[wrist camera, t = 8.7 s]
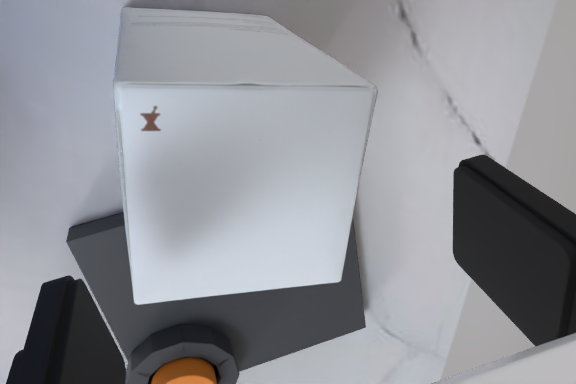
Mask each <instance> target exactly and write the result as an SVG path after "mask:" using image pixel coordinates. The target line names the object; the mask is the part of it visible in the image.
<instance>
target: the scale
mask: <svg viewBox="0 0 576 384" xmlns="http://www.w3.org/2000/svg"><path fill="white" fill-rule="evenodd" d="M67 244H68V246H69V248H70V250H71V251H72V253H73V255H74V257H75V259H76V261H77V263H78V265H79V267H80V269H81V271H82V273H83V275H84V277H85V279H86V281H87V283H88V285H89V287H90V288H91V290H92V292H93V294H94V296H95V298H96V300H97V302H98V304H99V306H100V308H101V310H102V312H103V314H104V316H105V318H106V320H107V322H108V324H109V325H110V327H111V329H112V331H113V333H114V335H115V337H116V339H117V341H118V343H119V345H120V347H121V349H122V351H123V353H124V355H125V357H126V359H127V361H128V362H129V363H128V366H127V370H126V380H125V384H151V383H152V379H153V376H154V375H155V373H156V372H157V370H158V369H159V368H160V367H162V366H163V365H164V364H166V363H168V362H170V361H173V360H176V359H179V358H182V357H197V358H201V359H203V360H206V361H207V362H209V363H210V364H211V365H212V367H213V369H214V371H215V376H216V381H217V384H236V382H237V379H238V377H239V371H242V370H245V369H248V368H251V367H253V366H256V365H259V364H262V363H265V362H268V361H271V360H274V359H276V358H279V357H282V356H285V355H288V354H291V353H294V352H296V351H299V350H302V349H305V348H308V347H311V346H314V345H317V344H319V343H322V342H325V341H328V340H331V339H334V338H337V337H339V336H342V335H345V334H348V333H351V332H354V331H357V330H360V329H362V328H365V327H366V325H365V316H364V308H363V299H362V291H361V282H360V274H359V265H358V257H357V248H356V240H355V231H354V223H353V216H352V222H351V227H350V233H349V239H348V244H347V250H346V256H345V261H344V267H343V272H342V278H341V281H340V282H336V283H326V284H317V285H308V286H298V287H289V288H280V289H271V290H262V291H253V292H244V293H235V294H226V295H217V296H208V297H199V298H191V299H183V300H173V301H165V302H158V303H149V304H140V305H137V304H135V303H134V297H133V288H132V279H131V270H130V262H129V254H128V246H127V238H126V230H125V220H124V213H120V214H117V215H113V216H110V217H106V218H103V219H99V220H96V221H92V222H89V223H85V224H82V225H78V226H75V227H71V228H69V232H68V237H67Z"/></svg>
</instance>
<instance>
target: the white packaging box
mask: <svg viewBox="0 0 576 384" xmlns="http://www.w3.org/2000/svg"><path fill="white" fill-rule="evenodd" d="M113 87H114V102H115V116H116V131H117V146H118V158H119V170H120V182H121V191H122V201H123V211H124V220H125V230H126V238H127V246H128V254H129V262H130V270H131V279H132V288H133V297H134V303H135V304H137V305H140V304H149V303H158V302H165V301H173V300H183V299H191V298H199V297H208V296H217V295H226V294H235V293H244V292H253V291H262V290H271V289H280V288H289V287H298V286H308V285H317V284H326V283H336V282H340V281H341V278H342V272H343V267H344V261H345V256H346V250H347V244H348V239H349V233H350V227H351V222H352V216H353V211H354V205H355V199H356V194H357V189H358V184H359V179H360V175H361V170H362V165H363V160H364V155H365V151H366V146H367V141H368V137H369V131H370V126H371V121H372V116H373V112H374V107H375V102H376V98H377V93H378V90H377V87H376V86H374V85H373V84H371V83H370V82H368V81H367V80H365V79H364V78H362V77H361V76H359V75H358V74H356V73H355V72H353V71H352V70H350V69H349V68H347V67H346V66H344V65H343V64H341V63H340V62H338V61H337V60H335V59H333V58H332V57H330V56H329V55H327V54H326V53H324V52H322V51H321V50H319V49H317V48H316V47H314V46H313V45H311V44H310V43H308V42H306V41H305V40H303V39H302V38H300V37H299V36H297V35H295V34H294V33H292V32H291V31H289V30H288V29H286V28H285V27H283V26H282V25H280V24H279V23H277V22H276V21H274V20H273V19H271V18H270V17H268V16H262V15H251V14H239V13H223V12H206V11H187V10H168V9H149V8H129V7H123V8H122V10H121V17H120V27H119V35H118V45H117V55H116V63H115V73H114V80H113Z"/></svg>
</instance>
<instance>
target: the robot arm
mask: <svg viewBox="0 0 576 384" xmlns="http://www.w3.org/2000/svg"><path fill="white" fill-rule="evenodd" d="M453 254H454V258H455V260H456V262H457V263H458V264H459V266H460V267H461V268H462V269H463V270H464V271H465V272H466V273H467V274H468V275H469V276H470V277H471V278H472V279H473V280H474V281H475V282H476V284H477V285H478V286H479V287H480V288H481V289H482V290H483V291H484V292H485V293H486V294H487V295H488V296H489V297H490V298H491V299H492V301H493V302H495V303H496V305H497V306H498V307H499V308H500V309H501V310H502V311H503V312H504V313H505V314H506V315H507V316H508V318H510V320H511V321H512V322H513V323H514V324H515V325H516V326H517V327H518V328H519V329H520V330H521V331H522V332H523V333H524V334H525V335H526V336H527V338H528V339H529V340H530V341H531V342H532V343H533V344H534V345H535V346H536V347H533V348H531V349H527V350H524V351H522V352H519V353H516V354H513V355H510V356H507V357H505V358H502V359H499V360H496V361H493V362H491V363H488V364H485V365H482V366H479V367H477V368H474V369H471V370H468V371H465V372H462V373H460V374H457V375H454V376H451V377H448V378H446V379H443V380H440V381H437V382H434V383H431V384H576V214H574V213H573V212H571V211H570V210H568V209H567V208H565V207H564V206H562V205H561V204H559V203H558V202H556V201H555V200H553V199H552V198H550V197H549V196H547V195H546V194H544V193H543V192H541V191H539V190H538V189H536V188H535V187H533V186H532V185H530V184H529V183H527V182H526V181H524V180H522V179H521V178H520V177H518V176H517V175H515V174H514V173H512V172H511V171H509V170H507V169H506V168H504V167H503V166H501V165H500V164H498V163H497V162H495V161H494V160H492V159H491V158H489V157H488V156H486V155H479V156H475V157H472V158H469V159H465V160H462V161H461V162H460V163H459V167H458V168H456V169H455V170H454V189H453ZM125 380H126V369H125V363H124V360H123V357H122V355H121V353H120V351H119V349H118V347H117V345H116V343H115V341H114V339H113V337H112V336H111V334H110V332H109V330H108V328H107V326H106V324H105V322H104V320H103V318H102V316H101V314H100V312H99V310H98V308H97V306H96V304H95V303H94V301H93V299H92V297H91V295H90V293H89V291H88V289H87V287H86V285H85V283H84V282H83V280H82V279H78V280H74V279H73V277H71V276H65V277H62V278H59V279H55V280H52V281H48V282H45V283H43V284H42V286H41V290H40V293H39V297H38V300H37V304H36V307H35V311H34V314H33V318H32V321H31V325H30V328H29V332H28V336H27V339H26V343H25V346H24V350H21V351H19V352H18V353H17V354H16V355H15V357H14V359H13V362H12V366H11V369H10V372H9V376H8V379H7V382H6V384H125Z"/></svg>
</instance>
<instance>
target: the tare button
mask: <svg viewBox="0 0 576 384" xmlns="http://www.w3.org/2000/svg"><path fill="white" fill-rule="evenodd" d="M151 384H217V381H216V376H215V371H214V369H213V367H212V365H211V364H210V363H209V362H207V361H206V360H203V359H201V358H197V357H182V358H179V359H176V360H173V361H170V362H168V363H166V364H164V365H163V366H162V367H160V368H159V369H158V370H157V372H156V373H155V375H154V376H153V379H152V383H151Z"/></svg>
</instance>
